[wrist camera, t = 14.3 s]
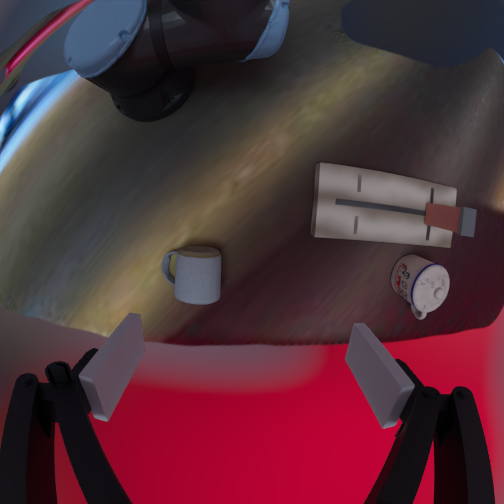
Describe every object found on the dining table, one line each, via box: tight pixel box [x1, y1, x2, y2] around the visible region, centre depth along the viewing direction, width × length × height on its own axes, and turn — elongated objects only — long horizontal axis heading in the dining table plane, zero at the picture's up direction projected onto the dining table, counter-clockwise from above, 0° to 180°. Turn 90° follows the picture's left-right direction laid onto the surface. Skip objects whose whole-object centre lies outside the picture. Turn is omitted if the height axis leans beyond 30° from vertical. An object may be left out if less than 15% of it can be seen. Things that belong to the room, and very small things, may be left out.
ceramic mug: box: [162, 246, 222, 304], centre depth 44 cm, size 11×8×8 cm
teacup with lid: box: [391, 254, 449, 319], centre depth 44 cm, size 12×9×12 cm
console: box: [310, 162, 457, 248], centre depth 44 cm, size 12×30×3 cm, turn 87°
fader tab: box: [425, 203, 477, 237], centre depth 38 cm, size 4×3×11 cm
